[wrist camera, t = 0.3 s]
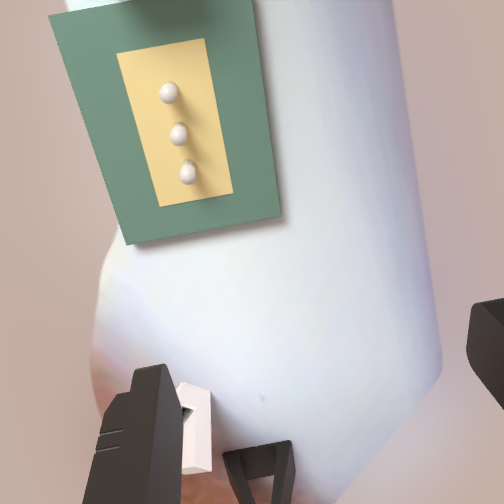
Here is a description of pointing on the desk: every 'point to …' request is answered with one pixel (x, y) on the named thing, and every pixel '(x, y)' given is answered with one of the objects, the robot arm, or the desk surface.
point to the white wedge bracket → (195, 428)
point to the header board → (173, 112)
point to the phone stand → (262, 470)
